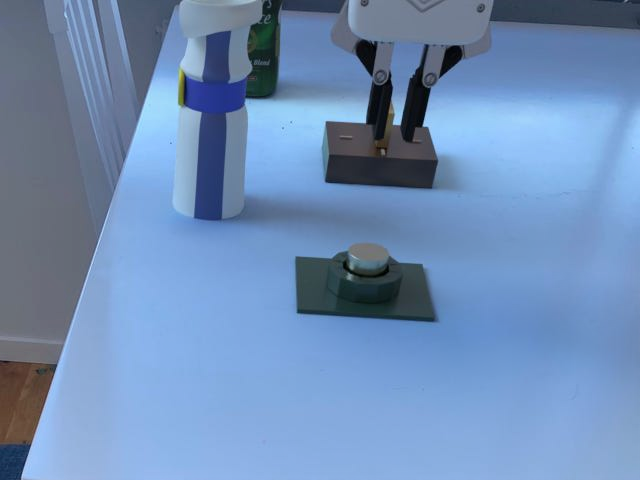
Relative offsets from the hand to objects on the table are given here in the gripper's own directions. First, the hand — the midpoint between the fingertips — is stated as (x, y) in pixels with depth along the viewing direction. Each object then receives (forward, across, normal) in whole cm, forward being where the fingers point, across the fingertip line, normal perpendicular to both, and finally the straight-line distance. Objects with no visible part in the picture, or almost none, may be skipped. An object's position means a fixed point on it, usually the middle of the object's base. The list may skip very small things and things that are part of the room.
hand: (391, 133), depth 76 cm
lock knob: (+12, +4, +33) cm, 35 cm away
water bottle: (+15, -15, +20) cm, 29 cm away
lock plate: (+15, +4, +33) cm, 37 cm away
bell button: (+12, 0, 0) cm, 12 cm away
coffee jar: (+15, -12, +57) cm, 60 cm away
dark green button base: (+15, 0, 0) cm, 15 cm away
